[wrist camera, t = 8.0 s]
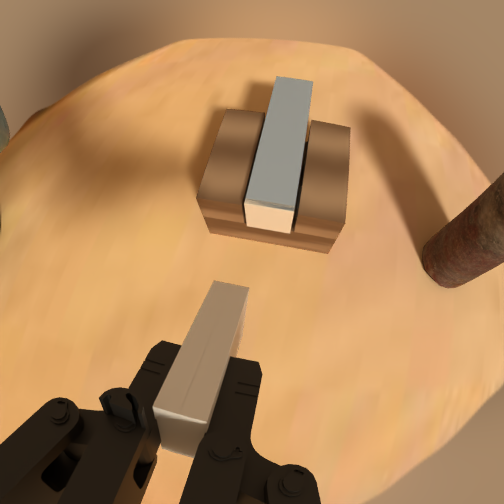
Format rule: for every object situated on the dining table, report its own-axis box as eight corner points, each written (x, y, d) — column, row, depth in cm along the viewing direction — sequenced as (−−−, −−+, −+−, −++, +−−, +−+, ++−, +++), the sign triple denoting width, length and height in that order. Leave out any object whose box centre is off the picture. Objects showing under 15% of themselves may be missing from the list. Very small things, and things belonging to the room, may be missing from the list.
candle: (452, 228, 36) (541, 144, 17) (474, 276, 34) (579, 214, 15) (412, 246, 36) (506, 155, 17) (436, 299, 33) (551, 240, 14)
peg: (289, 233, 32) (293, 212, 27) (247, 226, 32) (244, 204, 27) (309, 108, 37) (313, 81, 33) (275, 103, 38) (276, 76, 33)
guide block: (327, 253, 36) (344, 223, 28) (210, 232, 37) (196, 198, 29) (336, 169, 40) (350, 127, 32) (233, 152, 41) (226, 108, 33)
